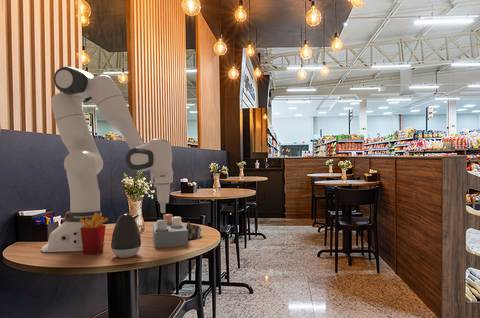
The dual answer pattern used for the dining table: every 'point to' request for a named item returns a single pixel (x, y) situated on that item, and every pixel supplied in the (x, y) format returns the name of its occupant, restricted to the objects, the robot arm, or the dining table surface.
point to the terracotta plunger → (168, 218)
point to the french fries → (93, 235)
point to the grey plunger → (162, 226)
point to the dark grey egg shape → (126, 237)
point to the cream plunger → (176, 222)
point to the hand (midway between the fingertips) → (163, 212)
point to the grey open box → (170, 236)
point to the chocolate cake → (193, 231)
